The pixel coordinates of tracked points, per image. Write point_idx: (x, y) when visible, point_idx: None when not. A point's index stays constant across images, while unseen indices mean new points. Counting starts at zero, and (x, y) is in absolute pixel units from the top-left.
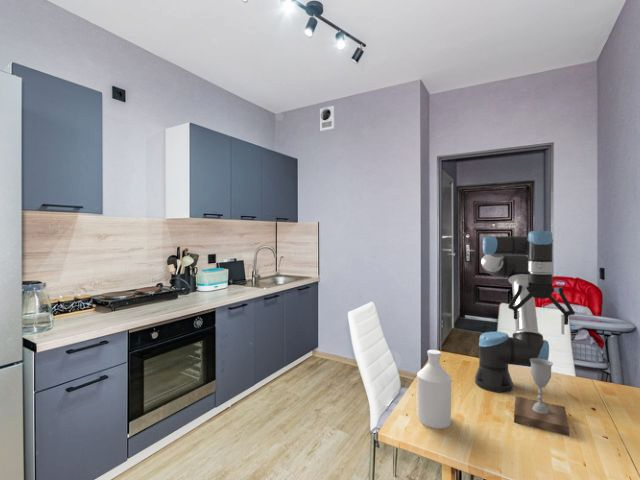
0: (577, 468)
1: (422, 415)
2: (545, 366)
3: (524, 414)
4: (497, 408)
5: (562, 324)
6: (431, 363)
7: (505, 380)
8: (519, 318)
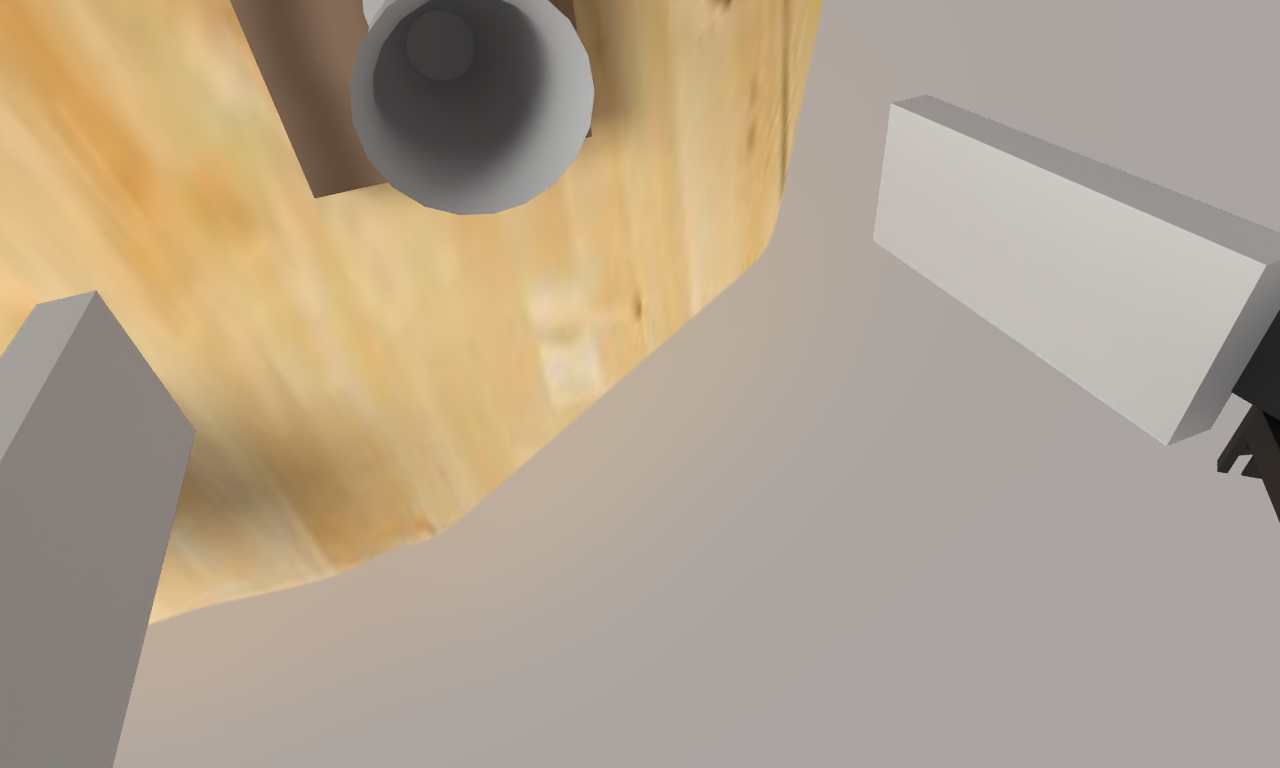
0: (619, 349)
1: None
2: (534, 182)
3: (363, 156)
4: (127, 49)
5: (1009, 323)
6: None
7: None
8: (142, 634)
